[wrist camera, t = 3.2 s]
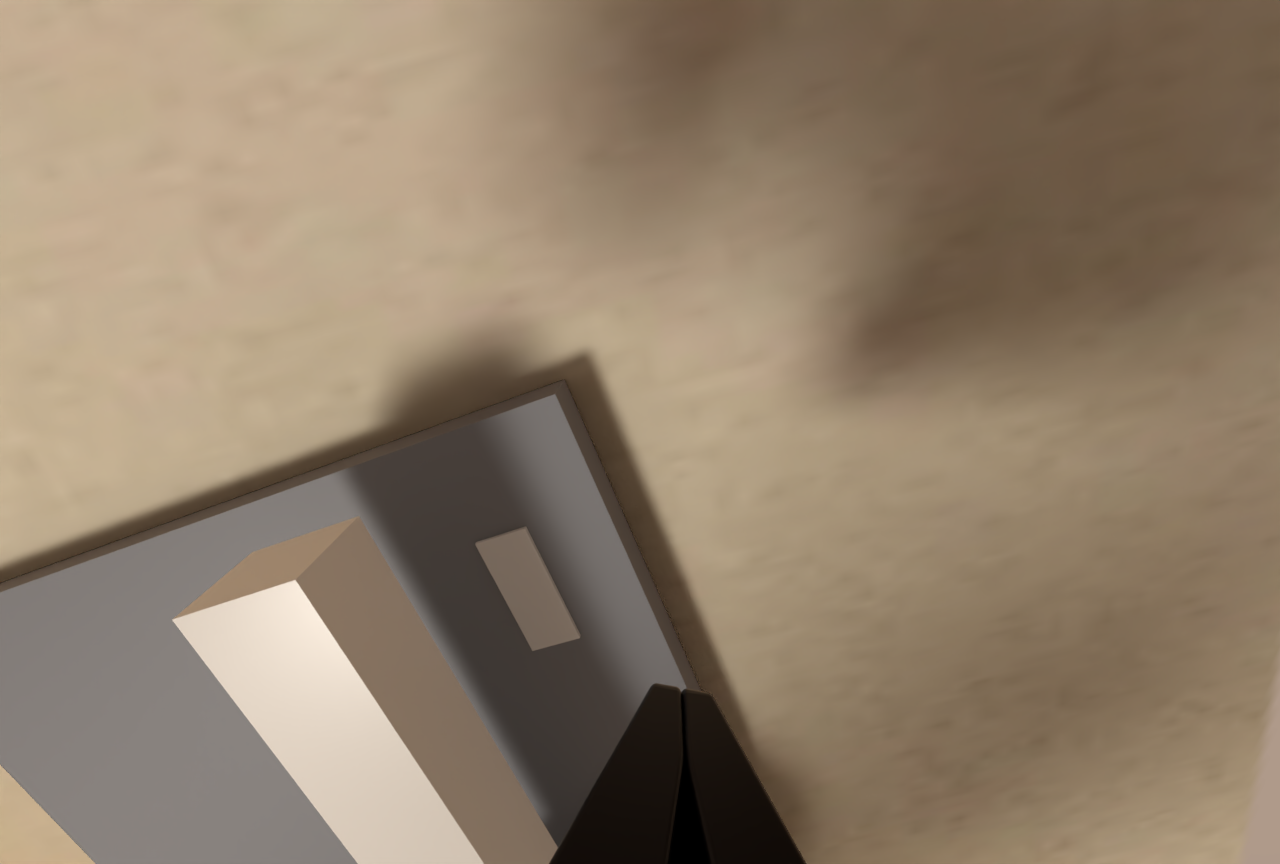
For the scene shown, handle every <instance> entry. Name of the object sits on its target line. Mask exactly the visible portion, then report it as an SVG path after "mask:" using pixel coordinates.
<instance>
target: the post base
mask: <svg viewBox="0 0 1280 864" xmlns="http://www.w3.org/2000/svg"><path fill="white" fill-rule="evenodd" d="M358 516H359V517H360V519H361V520H362V522H363V524H364V525H365V527H366V529H367V530H368V532H369V534H370V535H371V537H372V539H373V540H374V542H375V544H376V545H377V547H378V549H379V550H380V552H381V554H382V555H383V557H384V559H385V560H386V562H387V564H388V565H389V567H390V569H391V570H392V572H393V574H394V575H395V577H396V579H397V580H398V582H399V584H400V585H401V587H402V589H403V590H404V592H405V594H406V595H407V597H408V599H409V600H410V602H411V604H412V605H413V607H414V609H415V610H416V612H417V614H418V615H419V617H420V619H421V620H422V622H423V624H424V625H425V627H426V629H427V630H428V632H429V634H430V635H431V637H432V639H433V640H434V642H435V644H436V645H437V647H438V649H439V650H440V652H441V654H442V655H443V657H444V659H445V660H446V662H447V664H448V665H449V667H450V669H451V670H452V672H453V674H454V675H455V677H456V679H457V680H458V682H459V684H460V685H461V687H462V689H463V690H464V692H465V694H466V695H467V697H468V699H469V700H470V702H471V704H472V705H473V707H474V709H475V710H476V712H477V714H478V715H479V717H480V719H481V720H482V722H483V724H484V725H485V727H486V729H487V730H488V732H489V734H490V735H491V737H492V739H493V740H494V742H495V744H496V745H497V747H498V749H499V750H500V752H501V754H502V755H503V757H504V759H505V760H506V762H507V764H508V765H509V767H510V769H511V770H512V772H513V774H514V775H515V777H516V779H517V780H518V782H519V784H520V785H521V787H522V789H523V790H524V792H525V794H526V795H527V797H528V799H529V800H530V802H531V804H532V805H533V807H534V809H535V810H536V812H537V814H538V815H539V817H540V819H541V820H542V822H543V824H544V825H545V827H546V829H547V830H548V832H549V834H550V835H551V837H552V839H553V840H554V842H555V844H556V845H557V847H559V845H560V843H561V841H562V840H563V838H564V836H565V834H566V833H567V831H568V829H569V828H570V826H571V824H572V822H573V821H574V819H575V817H576V815H577V814H578V812H579V810H580V808H581V807H582V805H583V803H584V801H585V800H586V798H587V796H588V794H589V793H590V791H591V789H592V787H593V786H594V784H595V782H596V781H597V779H598V777H599V775H600V774H601V772H602V770H603V768H604V767H605V765H606V763H607V761H608V760H609V758H610V756H611V754H612V753H613V751H614V749H615V747H616V746H617V744H618V742H619V740H620V739H621V737H622V735H623V734H624V732H625V730H626V728H627V727H628V725H629V723H630V721H631V720H632V718H633V716H634V714H635V713H636V711H637V709H638V707H639V706H640V704H641V702H642V700H643V699H644V697H645V695H646V693H647V692H648V690H649V688H650V687H651V685H653V684H655V683H658V684H664V685H670V686H676V687H678V688H679V689H680V690H681V692H682V690H684V689H693V690H698V691H701V689H700V687H699V684H698V682H697V680H696V678H695V675H694V673H693V671H692V669H691V666H690V664H689V662H688V659H687V657H686V655H685V653H684V650H683V648H682V646H681V644H680V641H679V639H678V637H677V634H676V632H675V630H674V628H673V625H672V623H671V621H670V618H669V616H668V614H667V612H666V609H665V607H664V605H663V603H662V600H661V598H660V596H659V593H658V591H657V589H656V587H655V584H654V582H653V580H652V578H651V575H650V573H649V571H648V568H647V566H646V564H645V562H644V559H643V557H642V555H641V552H640V550H639V548H638V546H637V543H636V541H635V539H634V537H633V534H632V532H631V530H630V527H629V525H628V523H627V521H626V518H625V516H624V514H623V512H622V509H621V507H620V505H619V502H618V500H617V498H616V496H615V493H614V491H613V489H612V486H611V484H610V482H609V480H608V477H607V475H606V473H605V471H604V468H603V466H602V464H601V461H600V459H599V457H598V455H597V452H596V450H595V448H594V446H593V443H592V441H591V439H590V436H589V434H588V432H587V430H586V427H585V425H584V423H583V420H582V418H581V416H580V414H579V411H578V409H577V407H576V405H575V402H574V400H573V398H572V395H571V393H570V391H569V389H568V386H567V384H566V382H565V380H561V381H559V382H556V383H553V384H550V385H548V386H545V387H542V388H539V389H536V390H534V391H531V392H528V393H525V394H523V395H520V396H517V397H514V398H512V399H509V400H506V401H503V402H500V403H498V404H495V405H492V406H489V407H487V408H484V409H481V410H478V411H476V412H473V413H470V414H467V415H464V416H462V417H459V418H456V419H453V420H451V421H448V422H445V423H442V424H440V425H437V426H434V427H431V428H428V429H426V430H423V431H420V432H417V433H415V434H412V435H409V436H406V437H404V438H401V439H398V440H395V441H392V442H390V443H387V444H384V445H381V446H379V447H376V448H373V449H370V450H368V451H365V452H362V453H359V454H356V455H354V456H351V457H348V458H345V459H343V460H340V461H337V462H334V463H332V464H329V465H326V466H323V467H320V468H318V469H315V470H312V471H309V472H307V473H304V474H301V475H298V476H296V477H293V478H290V479H287V480H284V481H282V482H279V483H276V484H273V485H271V486H268V487H265V488H262V489H260V490H257V491H254V492H251V493H248V494H246V495H243V496H240V497H237V498H235V499H232V500H229V501H226V502H224V503H221V504H218V505H215V506H212V507H210V508H207V509H204V510H201V511H199V512H196V513H193V514H190V515H188V516H185V517H182V518H179V519H176V520H174V521H171V522H168V523H165V524H163V525H160V526H157V527H154V528H152V529H149V530H146V531H143V532H140V533H138V534H135V535H132V536H129V537H127V538H124V539H121V540H118V541H116V542H113V543H110V544H107V545H104V546H102V547H99V548H96V549H93V550H91V551H88V552H85V553H82V554H80V555H77V556H74V557H71V558H68V559H66V560H63V561H60V562H57V563H55V564H52V565H49V566H46V567H44V568H41V569H38V570H35V571H32V572H30V573H27V574H24V575H21V576H19V577H16V578H13V579H10V580H8V581H5V582H2V583H0V765H1V766H2V767H3V768H4V769H5V770H6V771H7V772H8V773H9V774H10V775H11V776H12V777H13V778H14V779H15V780H16V781H17V782H18V784H19V785H20V786H21V787H22V788H23V789H24V790H25V791H26V792H27V793H28V794H29V795H30V796H31V797H32V798H33V799H34V800H35V801H36V802H37V803H38V804H39V805H40V806H41V807H42V808H43V809H44V811H45V812H46V813H47V814H48V815H49V816H50V817H51V818H52V819H53V820H54V821H55V822H56V823H57V824H58V825H59V826H60V827H61V828H62V829H63V830H64V831H65V832H66V833H67V834H68V835H69V836H70V838H71V839H72V840H73V841H74V842H75V843H76V844H77V845H78V846H79V847H80V848H81V849H82V850H83V851H84V852H85V853H86V854H87V855H88V856H89V857H90V858H91V859H92V860H93V861H94V862H95V863H96V864H358V863H357V862H356V861H355V859H354V858H353V857H352V856H351V854H350V853H349V852H348V850H347V849H346V848H345V846H344V845H343V844H342V842H341V841H340V840H339V838H338V837H337V836H336V835H335V833H334V832H333V831H332V829H331V828H330V827H329V825H328V824H327V823H326V821H325V820H324V819H323V817H322V816H321V815H320V814H319V812H318V811H317V810H316V808H315V807H314V806H313V804H312V803H311V802H310V800H309V799H308V798H307V796H306V795H305V794H304V793H303V791H302V790H301V789H300V787H299V786H298V785H297V783H296V782H295V781H294V779H293V778H292V777H291V775H290V774H289V773H288V772H287V770H286V769H285V768H284V766H283V765H282V764H281V762H280V761H279V760H278V758H277V757H276V756H275V754H274V753H273V752H272V751H271V749H270V748H269V747H268V745H267V744H266V743H265V741H264V740H263V739H262V737H261V736H260V735H259V733H258V732H257V731H256V730H255V728H254V727H253V726H252V724H251V723H250V722H249V720H248V719H247V718H246V716H245V715H244V714H243V712H242V711H241V710H240V709H239V707H238V706H237V705H236V703H235V702H234V701H233V699H232V698H231V697H230V695H229V694H228V693H227V691H226V690H225V689H224V688H223V686H222V685H221V684H220V682H219V681H218V680H217V678H216V677H215V676H214V674H213V673H212V672H211V670H210V669H209V668H208V667H207V665H206V664H205V663H204V661H203V660H202V659H201V657H200V656H199V655H198V653H197V652H196V651H195V649H194V648H193V647H192V645H191V644H190V643H189V642H188V640H187V639H186V638H185V636H184V635H183V634H182V632H181V631H180V630H179V628H178V627H177V626H176V624H175V623H174V622H173V621H172V619H173V618H175V617H176V616H177V615H178V614H179V613H180V612H182V611H183V610H184V609H185V608H186V607H188V606H189V605H190V604H191V603H192V602H194V601H195V600H196V599H197V598H198V597H199V596H201V595H202V594H203V593H204V592H205V591H207V590H208V589H209V588H210V587H211V586H213V585H214V584H215V583H216V582H217V581H219V580H220V579H221V578H222V577H223V576H224V575H226V574H227V573H228V572H229V571H230V570H232V569H233V568H234V567H235V566H236V565H238V564H239V563H240V562H241V561H242V560H243V559H245V558H246V557H247V556H248V555H249V554H251V553H252V552H254V551H257V550H260V549H263V548H266V547H269V546H272V545H275V544H278V543H281V542H284V541H287V540H290V539H293V538H295V537H298V536H301V535H304V534H307V533H310V532H313V531H316V530H319V529H322V528H325V527H328V526H331V525H334V524H337V523H340V522H343V521H346V520H349V519H352V518H355V517H358Z"/></svg>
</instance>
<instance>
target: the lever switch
mask: <svg viewBox="0 0 1280 864" xmlns="http://www.w3.org/2000/svg"><path fill="white" fill-rule="evenodd" d="M172 621H173V622H174V623H175V624H176V626H177V627H178V628H179V630H180V631H181V632H182V634H183V635H184V636H185V638H186V639H187V640H188V642H189V643H190V644H191V645H192V647H193V648H194V649H195V651H196V652H197V653H198V655H199V656H200V657H201V659H202V660H203V661H204V663H205V664H206V665H207V667H208V668H209V669H210V670H211V672H212V673H213V674H214V676H215V677H216V678H217V680H218V681H219V682H220V684H221V685H222V686H223V688H224V689H225V690H226V691H227V693H228V694H229V695H230V697H231V698H232V699H233V701H234V702H235V703H236V705H237V706H238V707H239V709H240V710H241V711H242V712H243V714H244V715H245V716H246V718H247V719H248V720H249V722H250V723H251V724H252V726H253V727H254V728H255V730H256V731H257V732H258V733H259V735H260V736H261V737H262V739H263V740H264V741H265V743H266V744H267V745H268V747H269V748H270V749H271V751H272V752H273V753H274V754H275V756H276V757H277V758H278V760H279V761H280V762H281V764H282V765H283V766H284V768H285V769H286V770H287V772H288V773H289V774H290V775H291V777H292V778H293V779H294V781H295V782H296V783H297V785H298V786H299V787H300V789H301V790H302V791H303V793H304V794H305V795H306V796H307V798H308V799H309V800H310V802H311V803H312V804H313V806H314V807H315V808H316V810H317V811H318V812H319V814H320V815H321V816H322V817H323V819H324V820H325V821H326V823H327V824H328V825H329V827H330V828H331V829H332V831H333V832H334V833H335V835H336V836H337V837H338V838H339V840H340V841H341V842H342V844H343V845H344V846H345V848H346V849H347V850H348V852H349V853H350V854H351V856H352V857H353V858H354V859H355V861H356V862H357V863H358V864H549V862H550V861H551V859H552V857H553V855H554V854H555V852H556V850H557V848H558V847H557V845H556V844H555V842H554V840H553V839H552V837H551V835H550V834H549V832H548V830H547V829H546V827H545V825H544V824H543V822H542V820H541V819H540V817H539V815H538V814H537V812H536V810H535V809H534V807H533V805H532V804H531V802H530V800H529V799H528V797H527V795H526V794H525V792H524V790H523V789H522V787H521V785H520V784H519V782H518V780H517V779H516V777H515V775H514V774H513V772H512V770H511V769H510V767H509V765H508V764H507V762H506V760H505V759H504V757H503V755H502V754H501V752H500V750H499V749H498V747H497V745H496V744H495V742H494V740H493V739H492V737H491V735H490V734H489V732H488V730H487V729H486V727H485V725H484V724H483V722H482V720H481V719H480V717H479V715H478V714H477V712H476V710H475V709H474V707H473V705H472V704H471V702H470V700H469V699H468V697H467V695H466V694H465V692H464V690H463V689H462V687H461V685H460V684H459V682H458V680H457V679H456V677H455V675H454V674H453V672H452V670H451V669H450V667H449V665H448V664H447V662H446V660H445V659H444V657H443V655H442V654H441V652H440V650H439V649H438V647H437V645H436V644H435V642H434V640H433V639H432V637H431V635H430V634H429V632H428V630H427V629H426V627H425V625H424V624H423V622H422V620H421V619H420V617H419V615H418V614H417V612H416V610H415V609H414V607H413V605H412V604H411V602H410V600H409V599H408V597H407V595H406V594H405V592H404V590H403V589H402V587H401V585H400V584H399V582H398V580H397V579H396V577H395V575H394V574H393V572H392V570H391V569H390V567H389V565H388V564H387V562H386V560H385V559H384V557H383V555H382V554H381V552H380V550H379V549H378V547H377V545H376V544H375V542H374V540H373V539H372V537H371V535H370V534H369V532H368V530H367V529H366V527H365V525H364V524H363V522H362V520H361V519H360V517H359V516H358V517H355V518H352V519H349V520H346V521H343V522H340V523H337V524H334V525H331V526H328V527H325V528H322V529H319V530H316V531H313V532H310V533H307V534H304V535H301V536H298V537H295V538H293V539H290V540H287V541H284V542H281V543H278V544H275V545H272V546H269V547H266V548H263V549H260V550H257V551H254V552H252V553H251V554H249V555H248V556H247V557H246V558H245V559H243V560H242V561H241V562H240V563H239V564H238V565H236V566H235V567H234V568H233V569H232V570H230V571H229V572H228V573H227V574H226V575H224V576H223V577H222V578H221V579H220V580H219V581H217V582H216V583H215V584H214V585H213V586H211V587H210V588H209V589H208V590H207V591H205V592H204V593H203V594H202V595H201V596H199V597H198V598H197V599H196V600H195V601H194V602H192V603H191V604H190V605H189V606H188V607H186V608H185V609H184V610H183V611H182V612H180V613H179V614H178V615H177V616H176V617H175V618H173V619H172Z"/></svg>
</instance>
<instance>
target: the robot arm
mask: <svg viewBox="0 0 1280 864" xmlns="http://www.w3.org/2000/svg"><path fill="white" fill-rule="evenodd" d="M549 864H806V862H805V860H804V859H803V857H802V855H801V853H800V851H799V850H798V848H797V846H796V844H795V843H794V841H793V839H792V837H791V835H790V834H789V832H788V830H787V828H786V826H785V825H784V823H783V821H782V819H781V817H780V816H779V814H778V812H777V810H776V808H775V807H774V805H773V803H772V801H771V799H770V798H769V796H768V794H767V792H766V790H765V789H764V787H763V785H762V783H761V781H760V780H759V778H758V776H757V774H756V773H755V771H754V769H753V767H752V765H751V764H750V762H749V760H748V758H747V756H746V755H745V753H744V751H743V749H742V747H741V746H740V744H739V742H738V740H737V738H736V737H735V735H734V733H733V731H732V729H731V728H730V726H729V724H728V722H727V720H726V719H725V717H724V715H723V713H722V712H721V710H720V708H719V706H718V704H717V703H716V701H715V699H714V697H713V696H712V695H711V694H710V693H708V692H704V691H698V690H693V689H684V690H682V692H681V690H680V689H679V688H678V687H676V686H670V685H664V684H658V683H655V684H653V685H651V687H650V688H649V690H648V692H647V693H646V695H645V697H644V699H643V700H642V702H641V704H640V706H639V707H638V709H637V711H636V713H635V714H634V716H633V718H632V720H631V721H630V723H629V725H628V727H627V728H626V730H625V732H624V734H623V735H622V737H621V739H620V740H619V742H618V744H617V746H616V747H615V749H614V751H613V753H612V754H611V756H610V758H609V760H608V761H607V763H606V765H605V767H604V768H603V770H602V772H601V774H600V775H599V777H598V779H597V781H596V782H595V784H594V786H593V787H592V789H591V791H590V793H589V794H588V796H587V798H586V800H585V801H584V803H583V805H582V807H581V808H580V810H579V812H578V814H577V815H576V817H575V819H574V821H573V822H572V824H571V826H570V828H569V829H568V831H567V833H566V834H565V836H564V838H563V840H562V841H561V843H560V845H559V847H558V848H557V850H556V852H555V854H554V855H553V857H552V859H551V861H550V862H549Z"/></svg>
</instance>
